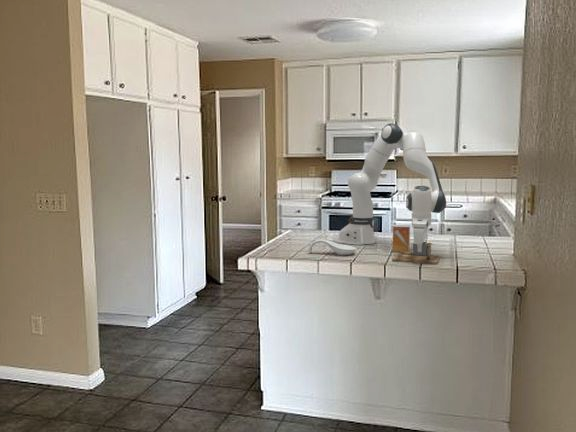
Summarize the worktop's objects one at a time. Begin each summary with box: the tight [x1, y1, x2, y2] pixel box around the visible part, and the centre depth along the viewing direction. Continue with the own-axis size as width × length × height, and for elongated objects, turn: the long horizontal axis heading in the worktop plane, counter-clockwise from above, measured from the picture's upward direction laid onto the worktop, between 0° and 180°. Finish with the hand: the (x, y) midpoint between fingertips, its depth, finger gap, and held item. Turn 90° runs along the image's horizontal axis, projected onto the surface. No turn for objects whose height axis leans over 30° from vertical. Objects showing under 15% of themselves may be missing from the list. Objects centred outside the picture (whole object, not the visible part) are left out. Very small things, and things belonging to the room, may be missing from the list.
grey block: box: [412, 241, 428, 256], centre depth 242 cm, size 6×5×6 cm
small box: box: [392, 224, 411, 253], centre depth 264 cm, size 8×6×13 cm
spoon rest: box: [307, 238, 357, 256], centre depth 258 cm, size 24×12×7 cm, turn 81°
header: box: [391, 242, 441, 265], centre depth 243 cm, size 20×15×8 cm
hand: (420, 250), depth 242 cm, fingers closed on grey block, 5 cm apart
